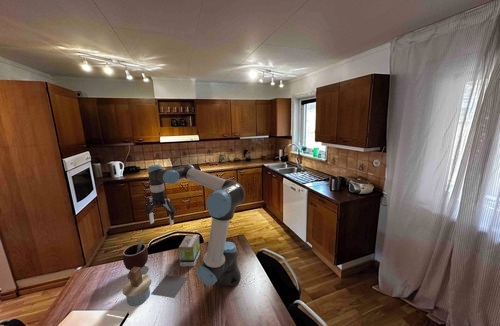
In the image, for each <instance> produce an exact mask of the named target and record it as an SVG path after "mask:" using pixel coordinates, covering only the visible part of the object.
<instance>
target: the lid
mask: <svg viewBox="0 0 500 326" xmlns="http://www.w3.org/2000/svg"><path fill="white" fill-rule="evenodd" d="M128 273H129V277H130V279H128V280H127V281H126V282H125V283H124V284H123V286H122V288H121V289H122V290H121V291H122V294H123V295H124V296H125V297H126V296H135V295H138V294H140V293H142V292H144V291H145V290H146V289H147V288H148V287H150V286H151V284H152V278H151V276H150V275H148V274H145V275H142V273H141V267H133V268H132V269H131V270H128Z"/></svg>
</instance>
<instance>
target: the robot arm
mask: <svg viewBox="0 0 500 326" xmlns="http://www.w3.org/2000/svg"><path fill="white" fill-rule="evenodd" d="M147 170H148V171H147V172H148V180H149V189H150V196H151V197H149V198H147V203H146V207H145V209H144V213H146V214H147V216H148V219H149V223H150V225H152V224H154V223H155V216H154V212H153V211H154V209H155V207H162V208H163V209H164V210H165V211H166V212H167V213H168V214H169V215H168V217H169V218H168V219H169V225H170V226H171V227H172V225H174V224H175V222H174V220H175V215H176V214H177V212H178V211H177V209H176V207H174V206H175V205H173V202H172V201H171V198H170V197H169V198H166V191H165V184H167V185H172V184H173V185H175V184H177V183H178V181H180V180H182V179H186V180H188V181H190V182H193V183H196V184H198V185H201V186H203V187H206V188H208V189H210V190H214V191H213V192H212V193H210V194H209V195H208V197H207V199H206V203H205V204H206V209H208V210H207V211H208V213H209V216H210V217H211V224H210V231H209V238H208V244H207V250H206V252H205V254H204V255H203V258H202V264H200V265H199V266H198V267H197V268H196V273H197V276H198V278H199V279H200V281H201V282H202V284H204V285H206V286H214V285H215V284H217V286H219V287H220V288H223V289H231V288H234V287H235V286H236V287H237V285H238V284H240V281H241V280H242V276H241V275H242V273H241V271H240V269H239V266H238V257H237V256H238V254H237V253H238V252H237V246H236V245H237V244H235V243H234V242H232V241H227V236H228V231H229V226H230V221H231V220H232V219H233V218H234V215H235V211H236V210H235V209H236V208H237V207H239V206H240V205H241V204H242V203H243V202H244V200H245V198H246V191H245V189H244V187H243V185H242V184H240V183H239V182H237V181H235V180H233V179H230V178H228V179H225V178H221V177H219V176H216V175H213V174H210V173H208V172H205V171H202V170H200V169H197V168H195V166H193V165H192V164H183V165H181V166H177V167H171V168H169V169H163V166H162V164H151V165H148V167H147Z"/></svg>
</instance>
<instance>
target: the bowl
mask: <svg viewBox="0 0 500 326" xmlns="http://www.w3.org/2000/svg"><path fill="white" fill-rule="evenodd" d="M150 295H151V287H150V286H149V287H148V288H147V289H146V290H145V291H144V292H142V293H140V294H138V295H135V296H125V298H126V302H127V304H128V305H129V307H137V306H140V305H142V304H144V303H145V302H146V301H147V300H148V299H149V298H150Z"/></svg>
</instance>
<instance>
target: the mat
mask: <svg viewBox="0 0 500 326" xmlns="http://www.w3.org/2000/svg"><path fill="white" fill-rule="evenodd" d="M188 279H189V278H188V277H185V276H178V275H177V276H176V275H170V274H169V275H168V274H166V275H165V276H164V277H163V279H162V280H161V281H160V282H159V283H158V285H157V286H156V287H155V288H154V289H153V291H151V292H150V295H154V296H160V297H166V298H172V299H175V298H176V297H177V295H178V294H179V292H180V291H181V289H182V287H183V286H184V284H185V283H186V282H187V280H188Z"/></svg>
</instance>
